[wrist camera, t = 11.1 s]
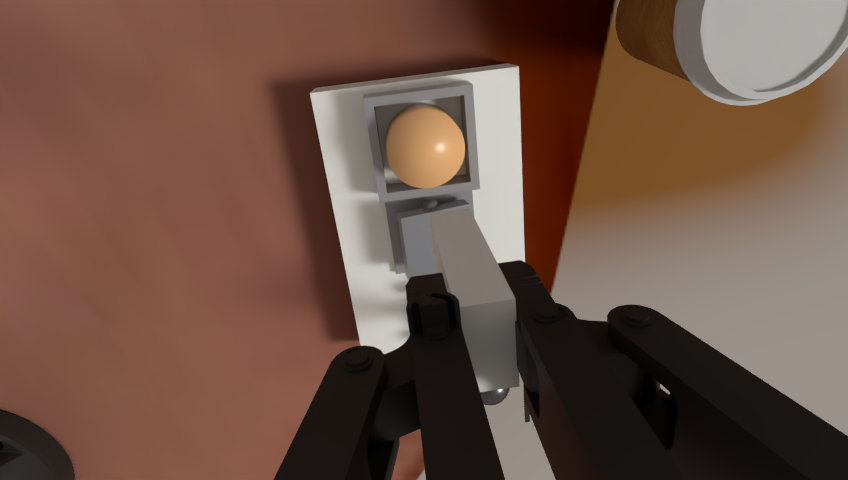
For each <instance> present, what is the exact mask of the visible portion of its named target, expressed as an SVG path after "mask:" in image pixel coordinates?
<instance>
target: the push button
mask: <svg viewBox="0 0 848 480" xmlns="http://www.w3.org/2000/svg"><path fill="white" fill-rule="evenodd" d="M386 149H387V158H388V162H389V165H390V167H391V169H392V171H393V172H394V174H395V175H396V176H397V177H398V178H399V179H400V180H402V181H403V182H404V183H406V184H408V185H410V186H413V187H417V188H433V187H437V186H440V185H442V184H444V183H446V182H447V181H449V180H450V179H451V178H453V176H454V175H455V174H456V173H457V172H458V170H459V169H460V167H461V165H462V162H463V160H464V156H465V142H464V138H463V135H462V132H461V130H460V129H459V127H458V126H457V124H456V123H455V122H454V121H453V119H452V118H451V117H450V116H449V114H448V113H446V112H445V111H444V110H443V109H441V108H439V107H437V106H435V105H432V104H426V103H419V104H413V105H410V106H408V107H406V108H404V109H402V110H401V111H400V112H399V113H397V114H396V116H395V117H394V118H393V119H392V121H391V122H390V125H389V127H388V130H387V134H386Z"/></svg>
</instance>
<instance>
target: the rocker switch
mask: <svg viewBox="0 0 848 480" xmlns="http://www.w3.org/2000/svg"><path fill="white" fill-rule="evenodd" d="M423 206H424V207H423V208H419V209H414V210H409V211H405V212H400V213H397V219H398V226H399V233H400V240H401V247H402V254H403V260H404V267H405V274H406V277H407V279H408V280H409V279H410V278H411V277H414V276H421V275H428V274H435V273H436V269H435V261H434V252H433V244H432V235H431V227H430V219H429V213H435V212H442V211H449V210H456V209H464V208H470V204H469V203H468V202H466V201H465V200H464V199H461V200H456V201H452V202H447V203H442V204H438V205H437V200H426V201H424V202H423Z"/></svg>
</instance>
